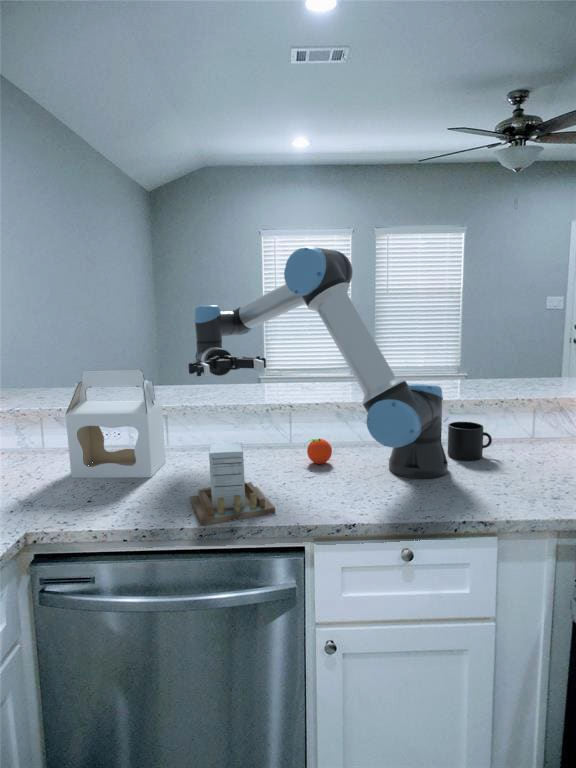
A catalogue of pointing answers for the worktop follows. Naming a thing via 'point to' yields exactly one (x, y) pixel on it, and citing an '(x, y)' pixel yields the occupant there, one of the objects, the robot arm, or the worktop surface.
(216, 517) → the brown shallow tray
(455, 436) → the mug
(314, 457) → the clementine
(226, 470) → the supplement box
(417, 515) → the worktop surface
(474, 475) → the worktop surface
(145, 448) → the gable box
